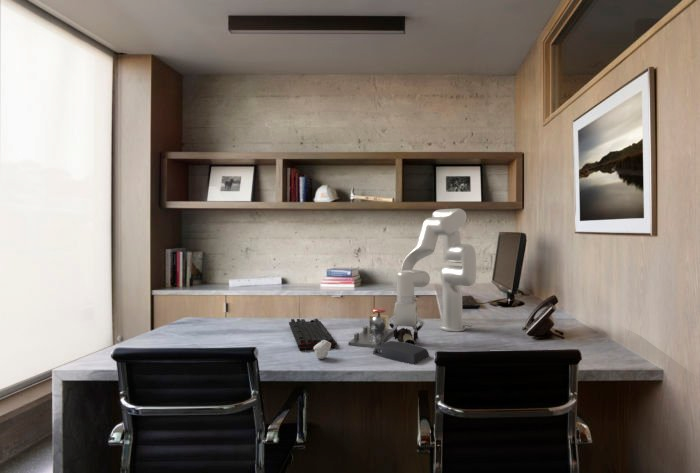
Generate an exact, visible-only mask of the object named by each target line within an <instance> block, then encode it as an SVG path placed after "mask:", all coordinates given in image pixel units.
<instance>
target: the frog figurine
mask: <svg viewBox="0 0 700 473" xmlns="http://www.w3.org/2000/svg"><path fill="white" fill-rule="evenodd" d="M313 349H314V350H313V351H314V355H315V357H317V358H318V359H320V360H323V359H326V358H327V356H328V355H329V351H330V350H331V349H332V348H331V343H330V342H328V341H326V340H322V341H321V342H319V343H318V344H316V345H315V346H314V348H313Z"/></svg>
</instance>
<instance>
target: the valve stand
mask: <svg viewBox="0 0 700 473" xmlns="http://www.w3.org/2000/svg"><path fill="white" fill-rule="evenodd" d="M386 312H387V308H385V307H384V308H382V307H375V308H374V307H373V308H371V313H372V314H371V315H369V326H367V325H364V326H363V327H362V329H363V330H362V331H361V332H355V333H354V334H353V338H352V339H351V340H350V341H348V346H354V347H365V348H375V346H378V345H380V344H383V343H385V341H386V340H387V339H388V338H389V337H390V336H391V335H392V334H393V329H392V328H389V324H388V322H387V320H388V319H389V314H382V313H386Z"/></svg>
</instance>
